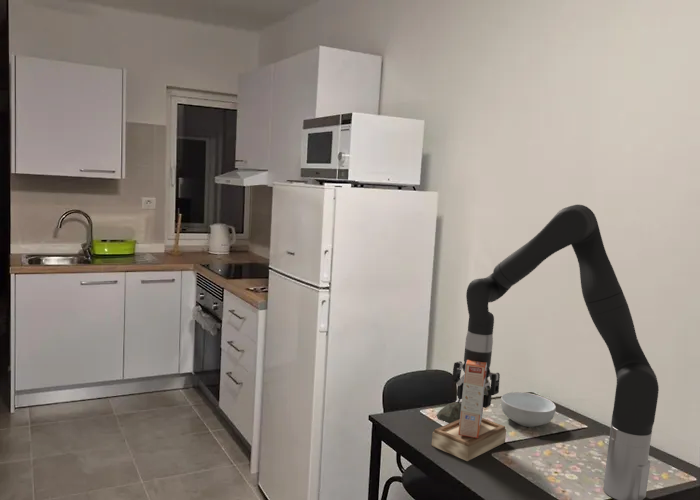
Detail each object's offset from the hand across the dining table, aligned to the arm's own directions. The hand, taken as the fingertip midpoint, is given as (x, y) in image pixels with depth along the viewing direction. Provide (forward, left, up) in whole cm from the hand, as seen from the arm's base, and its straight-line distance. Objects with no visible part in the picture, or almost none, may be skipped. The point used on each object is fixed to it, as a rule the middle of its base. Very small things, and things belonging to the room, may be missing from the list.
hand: (473, 402), depth 175 cm
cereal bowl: (-2, -30, -13) cm, 33 cm away
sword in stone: (+14, -12, -13) cm, 23 cm away
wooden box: (0, 0, -12) cm, 12 cm away
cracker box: (0, 0, -8) cm, 8 cm away
